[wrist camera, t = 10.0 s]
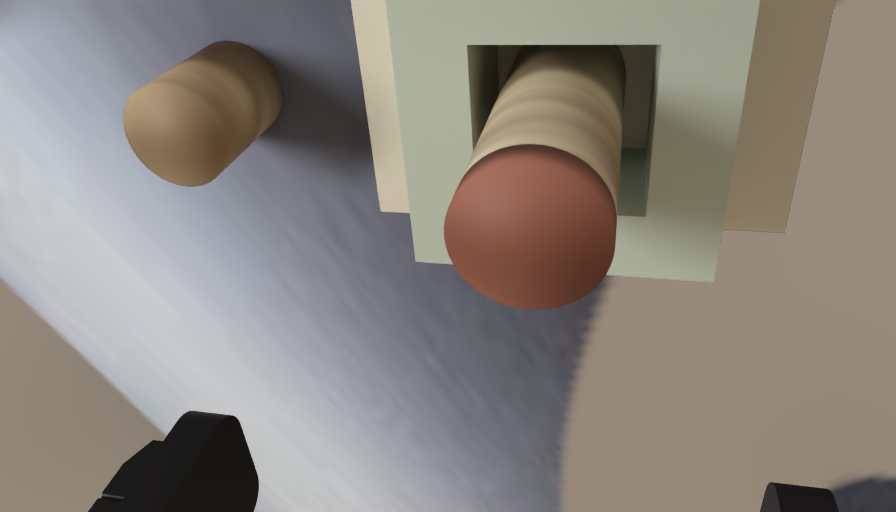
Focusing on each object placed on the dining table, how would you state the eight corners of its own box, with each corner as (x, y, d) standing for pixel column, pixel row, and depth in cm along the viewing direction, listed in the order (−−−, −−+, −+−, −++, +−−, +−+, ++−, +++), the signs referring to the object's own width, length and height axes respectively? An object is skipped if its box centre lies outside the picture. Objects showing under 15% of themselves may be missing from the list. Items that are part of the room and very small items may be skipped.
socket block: (346, -104, 25) (274, -73, 20) (854, -130, 21) (916, -100, 16) (387, 200, 31) (340, 278, 27) (780, 219, 28) (808, 314, 23)
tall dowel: (510, 21, 25) (436, 160, 16) (629, 19, 24) (620, 166, 15) (513, 128, 27) (449, 303, 18) (622, 130, 26) (610, 315, 17)
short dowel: (181, 41, 29) (108, 84, 25) (271, 40, 28) (209, 85, 24) (207, 131, 32) (142, 184, 28) (290, 133, 31) (236, 188, 27)
